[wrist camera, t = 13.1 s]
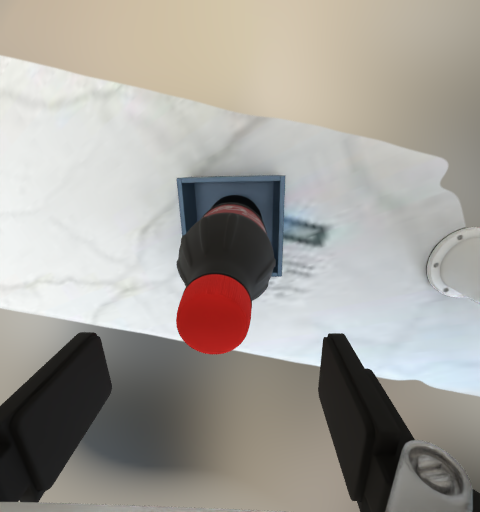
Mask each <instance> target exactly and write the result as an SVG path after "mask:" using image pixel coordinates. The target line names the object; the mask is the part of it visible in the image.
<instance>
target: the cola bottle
mask: <svg viewBox="0 0 480 512" xmlns="http://www.w3.org/2000/svg"><path fill="white" fill-rule="evenodd" d="M275 264H276V260H275V258H274V252H273V248H272V245H271V242H270V240H269V238H268V236H267V231H266V228H265V225H264V223H263V221H262V216H261V213H260V210H259V209H258V207H257V206H256V204H255V203H254V202H252V201H251V200H250V199H248V198H246V197H244V196H240V195H229V196H226V197H223V198H221V199H219V200H218V201H217V202H216V203H215V204H214V205H213V206H212V207H211V209H210V210H208V211H207V212H206V213H205V214H204V215H203V216H202V218H201V219H200V220H199V221H198V222H197V223H195V224H194V225H193V226H192V227H191V228H190V229H189V231H188V232H187V233H186V234H185V235H183V236H182V239H181V246H180V250H179V258H178V261H177V268H178V272H179V274H180V277H181V278H182V280H183V282H184V283H185V285H186V288H185V290H184V293H183V296H182V298H181V301H180V304H179V307H178V311H177V319H176V322H177V323H176V324H177V328H178V332H179V334H180V336H181V338H182V339H183V340H184V341H185V343H187V344H188V345H189V346H190V347H191V348H193V349H195V350H197V351H199V352H203V353H205V354H206V353H207V354H222V353H226V352H228V351H232V350H233V349H235V348H236V347H237V346H239V345H240V344H241V343H242V341H243V340H244V339H245V337H246V335H247V332H248V329H249V325H250V319H251V308H252V300H254V299H256V298H258V297H259V296H260V295H261V294H262V293H263V292H264V291H265V290H266V289H267V287H268V282H269V279H270V277H271V275H272V272H273V268H274V267H275Z"/></svg>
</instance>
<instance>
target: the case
mask: <svg viewBox="0 0 480 512" xmlns="http://www.w3.org/2000/svg"><path fill="white" fill-rule="evenodd" d="M177 188H178V198H179V208H180V218H181V227H182V236H183V235H185V234H186V233H187V232H188V231H189V229H190V228H191V227H192V226H193V225H194V224H195V223H197V222H198V221H199V220H200V219H201V218H202V216H203V215H204V214H205V213H206V212H207V211H208V210H210V209H211V207H212V206H213V205H214V204H215V203H216V202H217V201H218V200H219V199H221V198H223V197H226V196H229V195H240V196H244V197H246V198H248V199H250V200H251V201H252V202H254V203H255V204H256V206H257V207H258V209H259V210H260V213H261V216H262V221H263V223H264V225H265V228H266V231H267V236H268V238H269V240H270V242H271V245H272V248H273V252H274V258H275V260H276V264H275V267H274V268H273V272H272V275H271V277H276V276H282V254H283V225H284V195H285V176H282V175H255V176H213V177H185V178H177Z"/></svg>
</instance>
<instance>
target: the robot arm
mask: <svg viewBox="0 0 480 512" xmlns="http://www.w3.org/2000/svg"><path fill="white" fill-rule="evenodd" d="M427 276H428V279H429V282H430V284H431V285H432V286H433V287H434V288H435V289H436V290H437V291H439V292H440V293H442V294H444V295H447V296H449V297H455V298H461V297H468V298H470V299H471V300H473V301H475V302H477V303H478V304H480V227H470V228H464V229H461V230H459V231H456V232H454V233H452V234H450V235H449V236H447V237H446V238H445V239H443V240H442V241H441V242H440V243H439V244H438V245H437V246H436V248H435V249H434V250H433V252H432V254H431V256H430V258H429V261H428V264H427ZM111 389H112V384H111V380H110V376H109V372H108V368H107V364H106V359H105V355H104V351H103V347H102V342H101V339H100V337H99V336H97V334H96V333H90V332H89V333H86V332H82V333H78V334H77V335H76V336H75V337H74V338H73V339H72V340H71V341H70V342H69V343H67V344H66V345H65V346H64V347H63V348H62V349H61V350H60V351H59V352H58V353H57V354H56V355H55V356H53V357H52V358H51V359H50V360H49V361H48V362H47V363H46V364H45V365H44V366H43V367H42V368H41V369H39V370H38V371H37V372H36V373H35V374H34V375H33V376H32V377H31V378H30V379H29V380H28V381H27V382H26V383H25V384H23V385H22V386H21V387H20V388H19V389H18V390H17V391H16V392H15V393H14V394H13V395H12V396H11V397H10V398H9V399H7V400H6V401H5V402H4V403H3V404H2V405H1V406H0V512H283V511H259V510H237V509H212V508H187V507H161V506H133V505H132V506H131V505H104V504H101V505H100V504H70V503H68V504H67V503H38V502H39V500H40V498H41V497H42V495H43V493H44V492H45V491H46V490H48V489H50V488H51V487H52V485H53V484H54V482H55V481H56V479H57V478H58V476H59V474H60V473H61V471H62V470H63V468H64V467H65V465H66V463H67V462H68V460H69V458H70V457H71V455H72V454H73V452H74V451H75V449H76V448H77V446H78V444H79V443H80V441H81V440H82V438H83V436H84V435H85V433H86V432H87V430H88V429H89V427H90V425H91V424H92V422H93V421H94V419H95V417H96V416H97V414H98V413H99V411H100V410H101V408H102V406H103V405H104V403H105V401H106V400H107V398H108V397H109V395H110V393H111ZM318 392H319V398H320V401H321V404H322V408H323V411H324V414H325V417H326V421H327V424H328V427H329V431H330V434H331V437H332V440H333V444H334V446H335V450H336V453H337V457H338V460H339V463H340V466H341V469H342V473H343V476H344V479H345V482H346V486H347V489H348V492H349V495H350V498H351V500H352V501H357V503H358V506H359V509H360V512H480V493H478V492H477V491H475V490H473V489H472V485H471V481H470V479H469V477H468V475H467V473H466V471H465V470H464V469H463V468H462V467H461V465H460V464H459V463H458V462H457V461H456V460H455V459H454V458H453V457H452V456H451V455H450V454H449V453H447V452H446V451H444V450H443V449H441V448H440V447H438V446H436V445H434V444H431V443H429V442H425V441H421V440H415V439H414V438H413V436H412V434H411V433H410V431H409V430H408V428H407V426H406V425H405V423H404V422H403V420H402V418H401V417H400V415H399V413H398V412H397V410H396V408H395V407H394V405H393V404H392V402H391V400H390V399H389V397H388V396H387V394H386V392H385V391H384V389H383V387H382V386H381V384H380V383H379V381H378V379H377V378H376V376H375V374H374V373H373V372H372V370H370V369H364V367H363V365H362V363H361V362H360V360H359V358H358V357H357V355H356V353H355V352H354V350H353V348H352V346H351V345H350V343H349V341H348V340H347V338H346V336H345V335H344V334H328V337H324V339H323V347H322V357H321V367H320V377H319V387H318ZM19 500H20V502H18V501H19Z"/></svg>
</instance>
